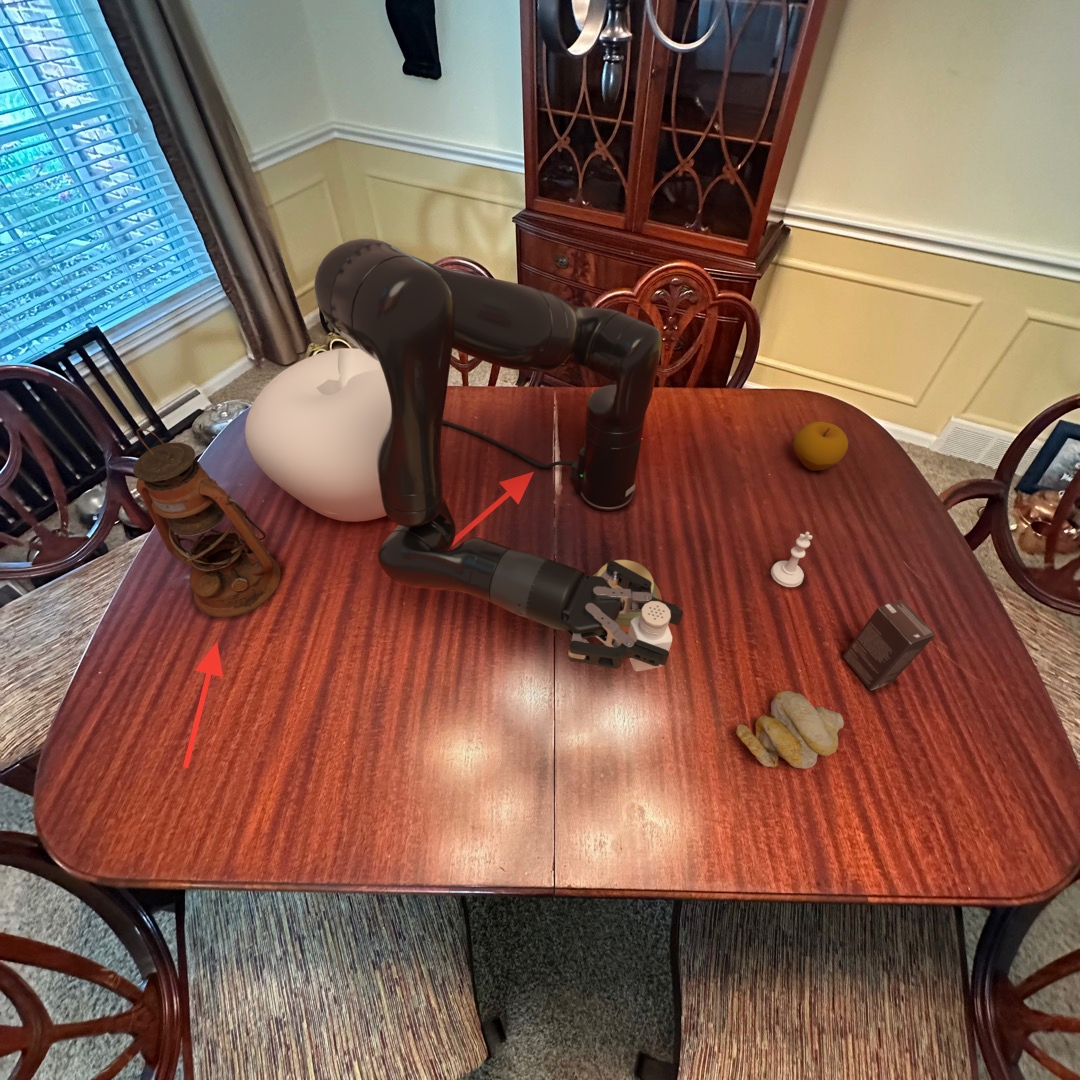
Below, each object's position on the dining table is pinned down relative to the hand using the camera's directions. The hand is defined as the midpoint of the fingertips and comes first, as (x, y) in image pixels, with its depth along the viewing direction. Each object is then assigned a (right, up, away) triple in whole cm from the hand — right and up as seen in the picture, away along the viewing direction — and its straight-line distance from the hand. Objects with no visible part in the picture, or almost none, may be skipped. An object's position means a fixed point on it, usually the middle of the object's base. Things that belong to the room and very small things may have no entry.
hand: (673, 637), depth 67 cm
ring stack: (-3, +1, +24) cm, 24 cm away
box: (+31, -7, +17) cm, 36 cm away
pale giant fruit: (-46, +18, +40) cm, 64 cm away
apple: (+36, +25, +45) cm, 63 cm away
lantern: (-63, +4, +27) cm, 68 cm away
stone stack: (+17, -15, +11) cm, 25 cm away
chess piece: (+24, +5, +28) cm, 38 cm away
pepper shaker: (-2, -3, +5) cm, 7 cm away
